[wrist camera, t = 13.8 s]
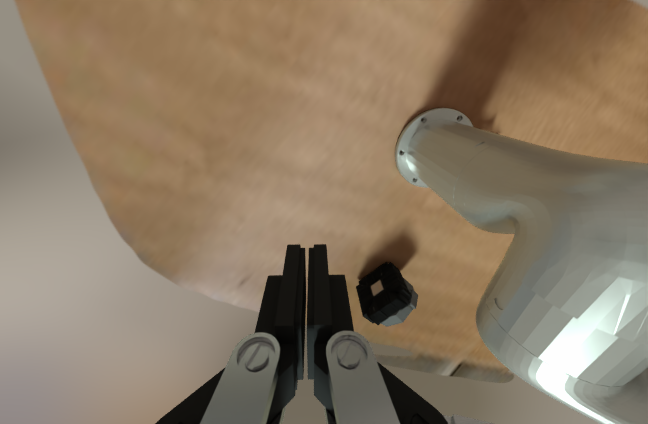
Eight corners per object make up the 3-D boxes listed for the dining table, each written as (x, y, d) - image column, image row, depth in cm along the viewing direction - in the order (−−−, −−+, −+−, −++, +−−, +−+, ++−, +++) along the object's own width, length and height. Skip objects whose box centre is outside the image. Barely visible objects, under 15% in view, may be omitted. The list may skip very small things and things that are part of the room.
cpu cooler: (368, 295, 55) (380, 337, 46) (352, 283, 53) (360, 323, 44) (405, 270, 52) (426, 309, 43) (390, 255, 50) (407, 293, 41)
